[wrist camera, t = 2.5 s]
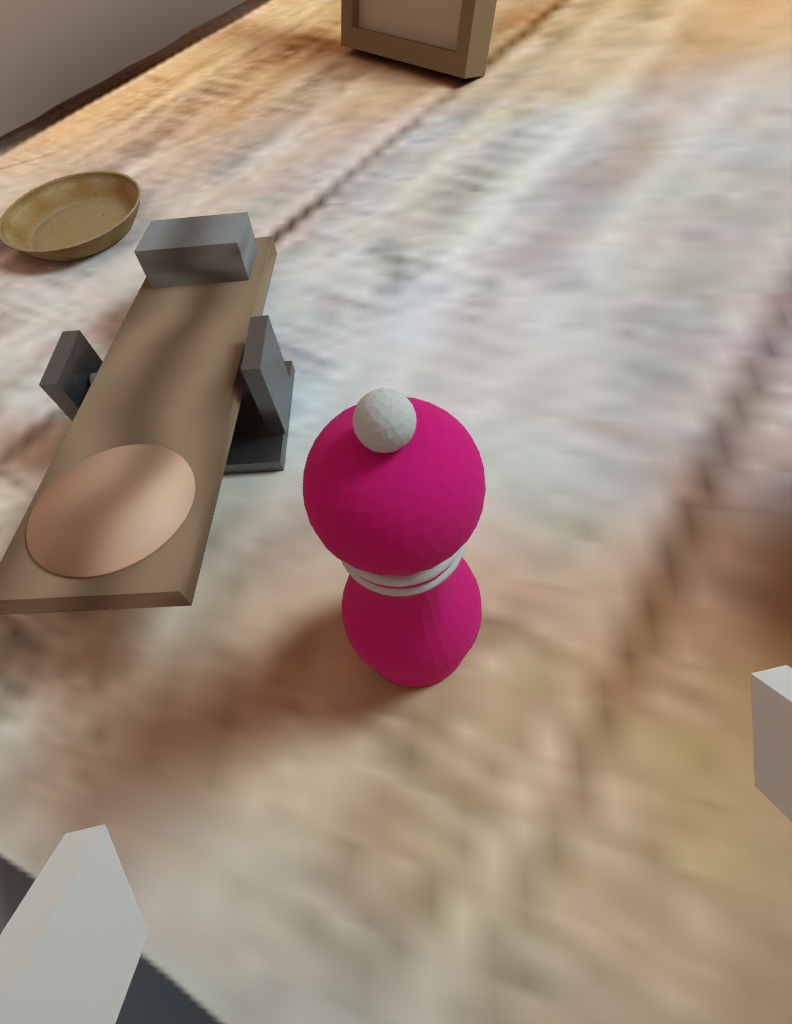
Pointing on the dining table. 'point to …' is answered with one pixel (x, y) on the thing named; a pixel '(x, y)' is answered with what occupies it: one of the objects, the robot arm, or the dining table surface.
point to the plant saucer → (72, 216)
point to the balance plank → (148, 432)
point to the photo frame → (422, 32)
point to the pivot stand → (261, 403)
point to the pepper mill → (400, 531)
